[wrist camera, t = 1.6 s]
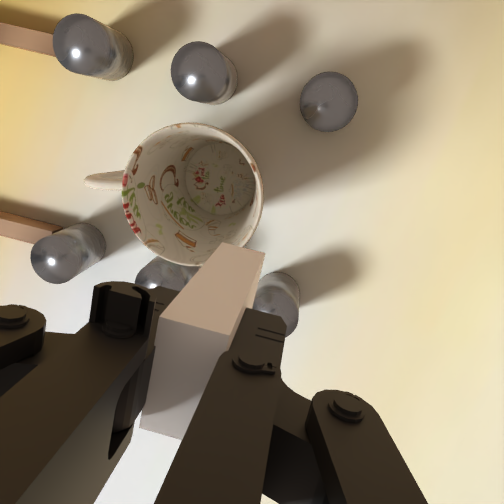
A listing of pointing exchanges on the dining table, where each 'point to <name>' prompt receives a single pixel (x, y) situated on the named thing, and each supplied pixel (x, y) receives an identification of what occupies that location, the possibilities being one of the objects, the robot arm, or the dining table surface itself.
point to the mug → (188, 192)
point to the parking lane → (4, 221)
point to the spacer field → (196, 89)
